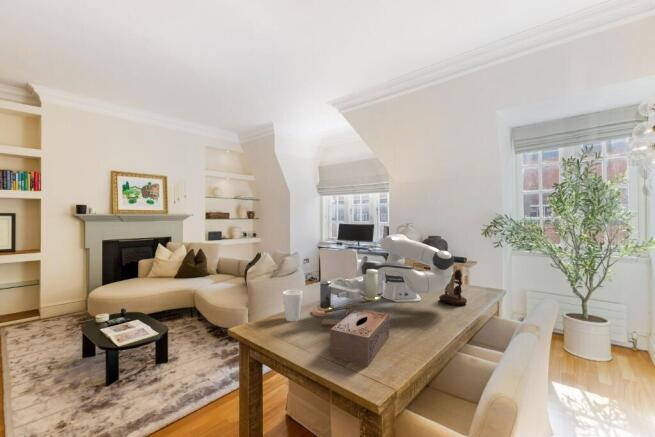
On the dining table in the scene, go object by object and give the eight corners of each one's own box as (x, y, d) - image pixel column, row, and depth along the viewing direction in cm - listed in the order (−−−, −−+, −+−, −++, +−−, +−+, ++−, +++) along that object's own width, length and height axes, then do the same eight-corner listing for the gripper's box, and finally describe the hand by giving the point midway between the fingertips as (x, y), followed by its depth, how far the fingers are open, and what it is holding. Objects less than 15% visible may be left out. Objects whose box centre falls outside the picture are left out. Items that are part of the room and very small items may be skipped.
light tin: (377, 295, 132) (377, 269, 132) (377, 298, 127) (378, 271, 127) (365, 294, 133) (366, 269, 132) (366, 297, 127) (366, 271, 127)
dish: (332, 310, 151) (332, 308, 151) (330, 317, 141) (330, 314, 141) (313, 309, 152) (313, 307, 152) (310, 316, 142) (310, 313, 142)
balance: (379, 323, 133) (379, 294, 133) (380, 330, 126) (381, 299, 125) (317, 320, 137) (318, 291, 136) (315, 326, 129) (315, 296, 128)
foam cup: (303, 316, 142) (304, 290, 142) (300, 323, 133) (300, 295, 133) (285, 315, 143) (285, 289, 143) (280, 322, 134) (280, 294, 134)
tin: (331, 305, 134) (331, 279, 134) (330, 308, 129) (330, 282, 129) (320, 304, 135) (320, 279, 135) (318, 308, 130) (319, 282, 130)
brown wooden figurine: (433, 300, 171) (434, 267, 171) (451, 297, 177) (452, 265, 177) (454, 307, 158) (454, 271, 157) (472, 304, 164) (473, 270, 163)
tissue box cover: (356, 331, 125) (356, 308, 125) (388, 338, 119) (389, 314, 118) (329, 356, 102) (330, 329, 102) (368, 367, 96) (368, 337, 96)
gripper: (366, 298, 136) (347, 305, 126) (334, 290, 150) (315, 296, 140) (366, 285, 136) (347, 291, 126) (334, 278, 150) (315, 283, 140)
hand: (330, 293), depth 133 cm, fingers open, 8 cm apart
